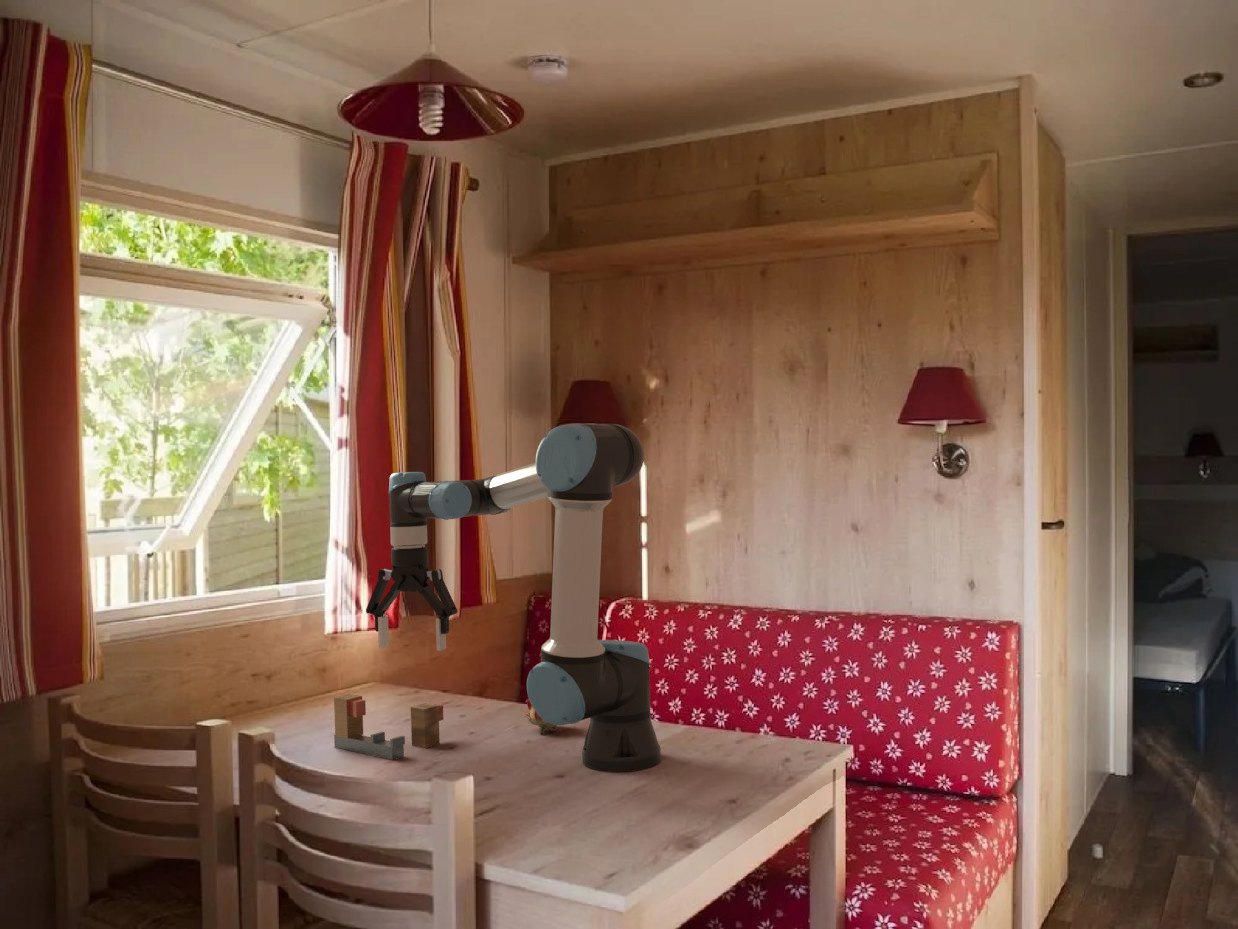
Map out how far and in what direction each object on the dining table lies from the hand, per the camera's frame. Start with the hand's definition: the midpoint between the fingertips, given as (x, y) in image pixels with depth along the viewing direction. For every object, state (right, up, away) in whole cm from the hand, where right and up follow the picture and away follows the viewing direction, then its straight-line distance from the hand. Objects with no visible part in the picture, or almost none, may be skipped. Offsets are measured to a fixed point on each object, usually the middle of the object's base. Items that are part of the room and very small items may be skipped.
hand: (412, 648), depth 230 cm
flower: (+27, -19, +7) cm, 34 cm away
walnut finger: (+3, -20, -1) cm, 20 cm away
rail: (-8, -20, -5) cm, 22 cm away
